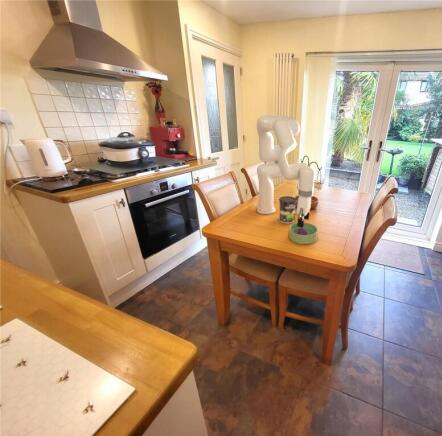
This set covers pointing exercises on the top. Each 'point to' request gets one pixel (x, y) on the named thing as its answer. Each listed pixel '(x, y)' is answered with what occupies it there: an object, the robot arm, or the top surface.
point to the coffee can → (287, 209)
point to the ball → (302, 232)
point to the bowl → (303, 239)
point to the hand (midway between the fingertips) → (303, 222)
